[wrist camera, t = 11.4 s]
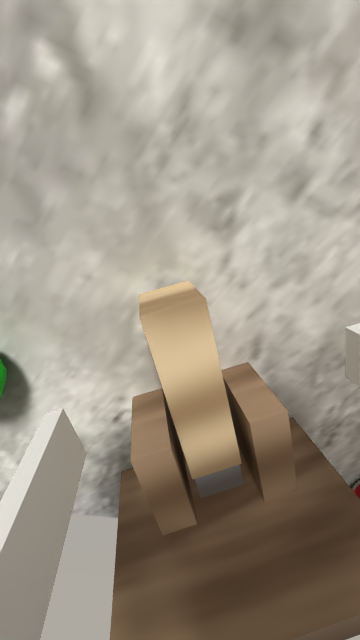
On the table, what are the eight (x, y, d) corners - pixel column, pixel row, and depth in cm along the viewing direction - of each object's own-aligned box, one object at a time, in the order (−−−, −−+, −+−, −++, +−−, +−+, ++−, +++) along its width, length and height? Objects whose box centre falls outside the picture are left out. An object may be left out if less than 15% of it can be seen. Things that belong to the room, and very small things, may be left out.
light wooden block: (139, 294, 18) (139, 317, 13) (188, 280, 18) (205, 298, 13) (186, 443, 23) (198, 499, 18) (224, 431, 23) (246, 483, 18)
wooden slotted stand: (92, 409, 20) (35, 634, 9) (285, 351, 21) (451, 489, 10) (128, 487, 23) (119, 724, 12) (294, 433, 24) (427, 608, 13)
